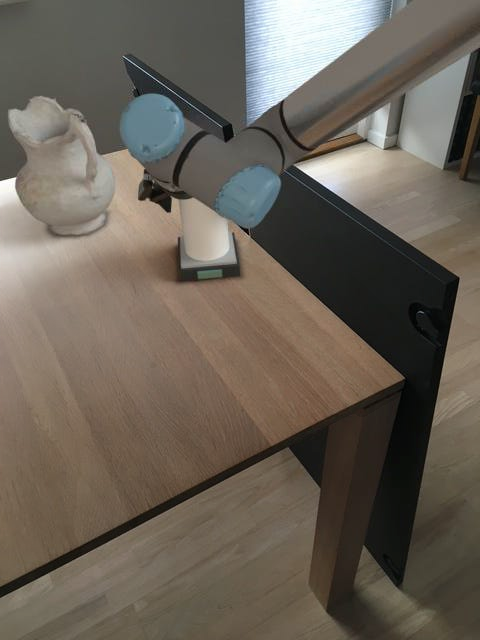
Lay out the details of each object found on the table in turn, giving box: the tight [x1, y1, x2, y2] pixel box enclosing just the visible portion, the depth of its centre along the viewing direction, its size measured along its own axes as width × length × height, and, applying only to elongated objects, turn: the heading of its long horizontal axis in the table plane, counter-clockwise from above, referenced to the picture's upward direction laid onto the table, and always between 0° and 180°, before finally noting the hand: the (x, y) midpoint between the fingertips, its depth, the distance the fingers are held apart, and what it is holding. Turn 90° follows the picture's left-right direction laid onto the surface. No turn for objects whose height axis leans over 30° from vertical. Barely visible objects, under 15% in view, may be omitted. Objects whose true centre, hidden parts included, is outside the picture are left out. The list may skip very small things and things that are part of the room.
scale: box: [177, 230, 241, 282], centre depth 101 cm, size 11×12×3 cm
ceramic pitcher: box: [7, 95, 116, 236], centre depth 106 cm, size 22×20×25 cm
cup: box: [178, 198, 229, 261], centre depth 95 cm, size 8×8×16 cm
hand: (206, 206), depth 97 cm, fingers open, 13 cm apart
